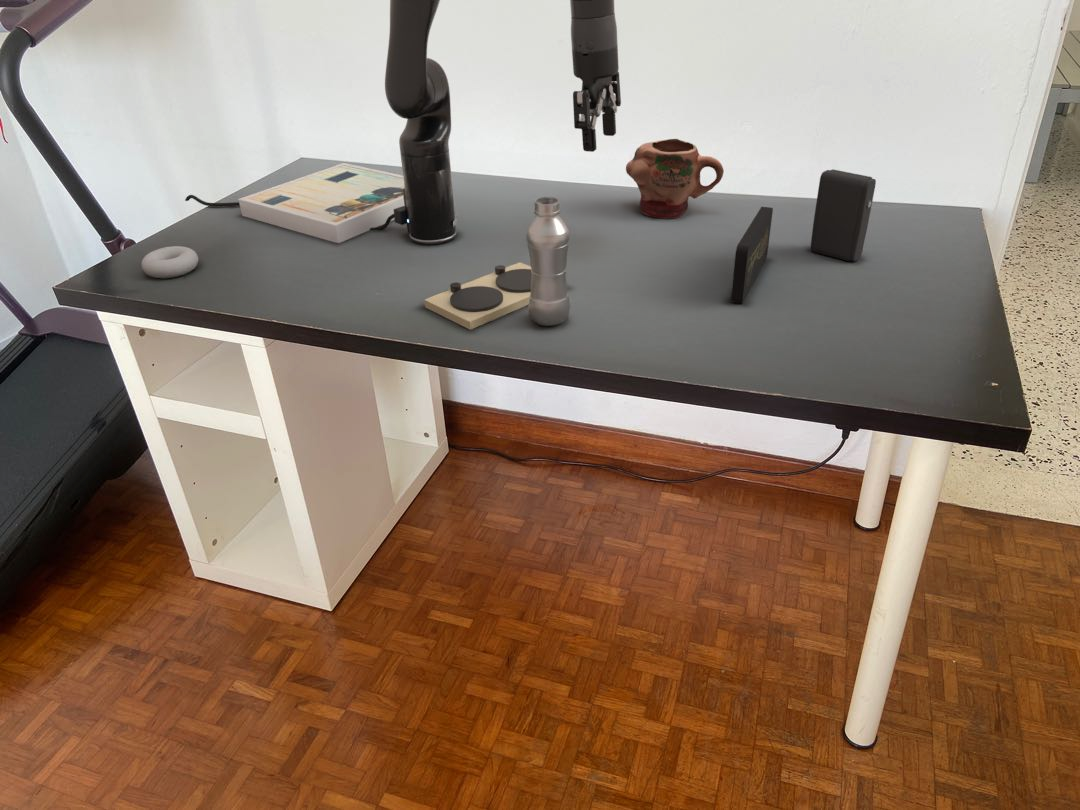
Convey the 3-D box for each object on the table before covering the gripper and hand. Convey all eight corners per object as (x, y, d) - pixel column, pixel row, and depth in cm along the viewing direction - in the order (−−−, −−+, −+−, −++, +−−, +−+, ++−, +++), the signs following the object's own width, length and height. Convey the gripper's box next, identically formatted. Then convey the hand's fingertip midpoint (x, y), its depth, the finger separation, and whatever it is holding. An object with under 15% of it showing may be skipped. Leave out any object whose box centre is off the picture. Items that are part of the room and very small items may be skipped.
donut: (176, 284, 153) (211, 262, 161) (171, 267, 151) (207, 245, 159) (132, 278, 156) (168, 257, 164) (126, 261, 154) (163, 240, 162)
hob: (425, 307, 141) (423, 292, 140) (520, 269, 154) (519, 255, 152) (470, 330, 134) (469, 314, 133) (566, 288, 146) (566, 274, 145)
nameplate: (741, 305, 138) (748, 248, 133) (730, 303, 139) (736, 246, 134) (766, 258, 155) (773, 206, 149) (756, 257, 155) (762, 204, 150)
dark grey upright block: (864, 257, 154) (880, 176, 146) (854, 264, 151) (869, 182, 143) (818, 245, 159) (830, 166, 151) (807, 252, 157) (819, 172, 149)
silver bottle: (527, 313, 138) (522, 195, 128) (568, 311, 139) (566, 192, 128) (530, 331, 133) (525, 209, 122) (572, 329, 133) (571, 206, 122)
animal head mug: (721, 204, 180) (727, 138, 172) (718, 224, 170) (724, 155, 162) (628, 199, 184) (630, 135, 177) (620, 219, 174) (621, 151, 167)
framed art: (335, 225, 165) (238, 198, 181) (338, 243, 167) (242, 215, 183) (439, 183, 186) (343, 162, 201) (440, 199, 188) (346, 178, 203)
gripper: (591, 34, 144) (596, 129, 154) (554, 54, 134) (562, 155, 143) (632, 34, 141) (635, 131, 150) (597, 55, 131) (603, 157, 140)
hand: (599, 142), depth 147 cm, fingers open, 8 cm apart
